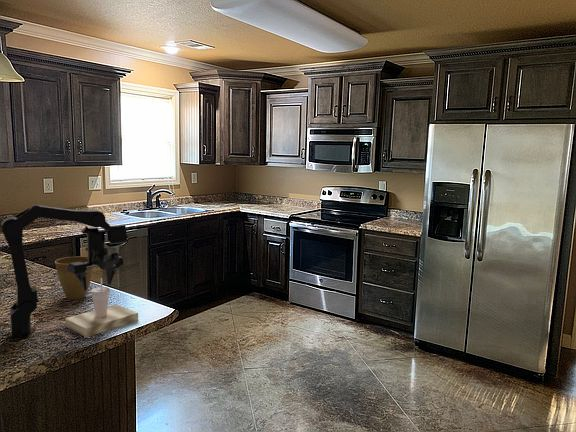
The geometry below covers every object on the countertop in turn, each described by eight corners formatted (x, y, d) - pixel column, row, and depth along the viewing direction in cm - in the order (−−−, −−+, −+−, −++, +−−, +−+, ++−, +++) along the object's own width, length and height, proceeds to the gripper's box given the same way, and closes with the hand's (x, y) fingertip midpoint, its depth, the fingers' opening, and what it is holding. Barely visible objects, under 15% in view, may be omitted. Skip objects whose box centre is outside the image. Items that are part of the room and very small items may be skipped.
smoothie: (103, 319, 156) (102, 280, 154) (87, 317, 157) (86, 279, 155) (114, 313, 162) (113, 276, 160) (98, 311, 163) (97, 274, 161)
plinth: (86, 337, 148) (86, 328, 148) (65, 326, 156) (65, 318, 156) (138, 320, 164) (138, 312, 163) (116, 311, 172) (116, 304, 172)
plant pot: (102, 295, 191) (101, 259, 189) (68, 304, 178) (67, 265, 176) (82, 288, 199) (81, 254, 197) (49, 297, 187) (47, 260, 184)
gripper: (82, 252, 146) (83, 298, 148) (132, 244, 160) (133, 286, 163) (65, 247, 152) (67, 291, 154) (115, 240, 167) (116, 280, 169)
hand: (97, 287), depth 160 cm, fingers open, 9 cm apart
